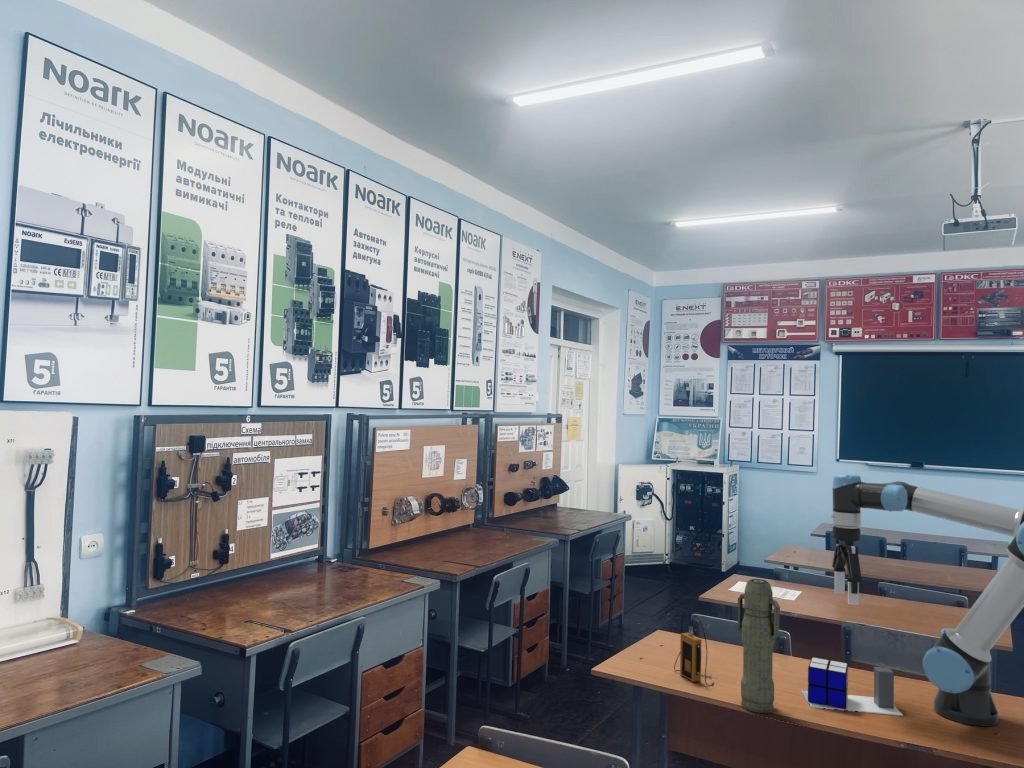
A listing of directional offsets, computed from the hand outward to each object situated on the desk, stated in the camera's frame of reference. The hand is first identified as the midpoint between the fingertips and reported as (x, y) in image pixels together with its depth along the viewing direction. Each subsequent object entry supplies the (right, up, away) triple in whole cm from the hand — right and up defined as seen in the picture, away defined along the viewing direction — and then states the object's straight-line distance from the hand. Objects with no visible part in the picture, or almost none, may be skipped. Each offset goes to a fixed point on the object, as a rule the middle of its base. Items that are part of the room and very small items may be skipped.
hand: (846, 599), depth 209 cm
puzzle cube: (-7, -28, -5) cm, 29 cm away
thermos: (-30, -28, -10) cm, 42 cm away
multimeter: (-40, -29, +12) cm, 51 cm away
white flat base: (-2, -28, -6) cm, 29 cm away
